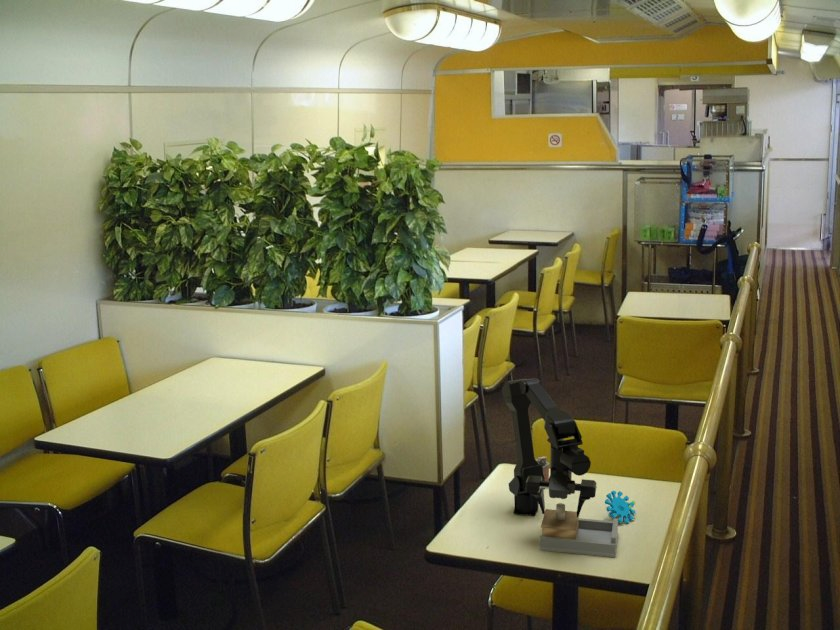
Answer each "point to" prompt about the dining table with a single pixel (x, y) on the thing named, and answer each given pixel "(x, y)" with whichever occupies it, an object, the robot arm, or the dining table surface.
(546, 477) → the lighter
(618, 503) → the gear
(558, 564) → the dining table surface
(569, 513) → the crate
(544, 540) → the bay
